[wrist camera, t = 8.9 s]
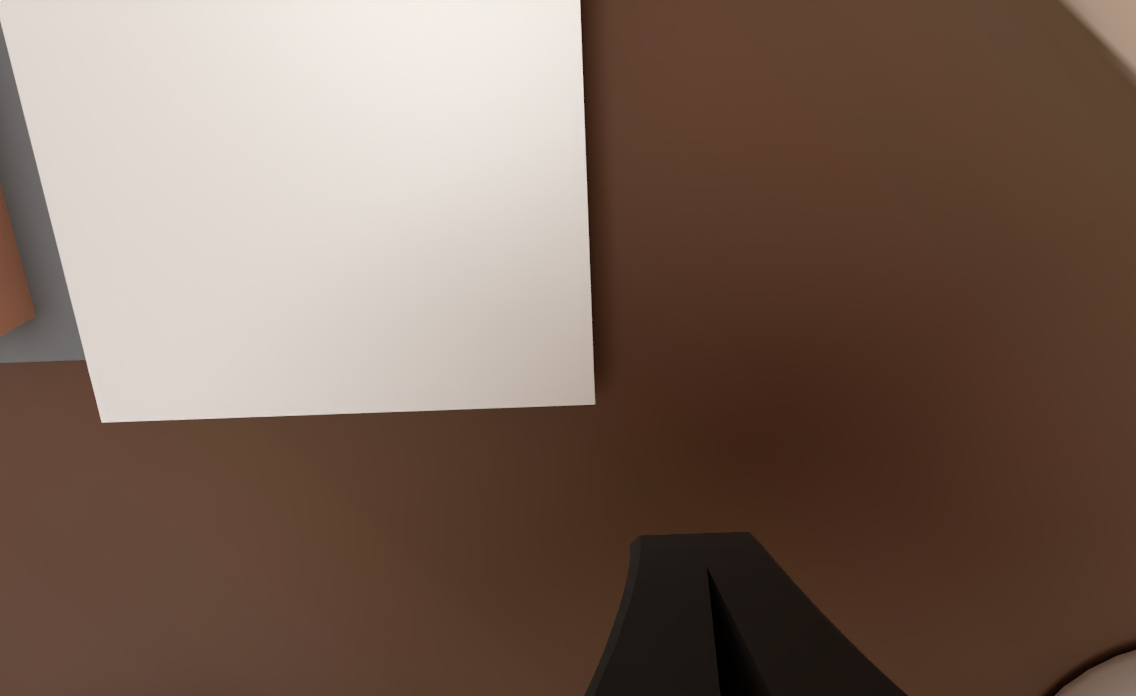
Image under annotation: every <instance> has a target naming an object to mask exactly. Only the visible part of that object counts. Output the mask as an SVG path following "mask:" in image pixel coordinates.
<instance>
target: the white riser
mask: <svg viewBox="0 0 1136 696" xmlns="http://www.w3.org/2000/svg"><path fill="white" fill-rule="evenodd" d="M0 22H1V26H2V30H3V33H4V37H5V41H6V45H7V49H8V53H9V57H10V61H11V65H12V69H13V73H14V77H15V81H16V85H17V89H18V93H19V97H20V101H21V105H22V109H23V113H24V117H25V121H26V125H27V129H28V132H29V136H30V140H31V144H32V148H33V152H34V156H35V160H36V164H37V168H38V172H39V176H40V180H41V184H42V188H43V192H44V196H45V200H46V204H47V208H48V212H49V216H50V220H51V224H52V228H53V231H54V235H55V239H56V243H57V247H58V251H59V255H60V259H61V263H62V267H63V271H64V275H65V279H66V283H67V287H68V291H69V295H70V299H71V303H72V307H73V311H74V315H75V319H76V323H77V327H78V331H79V334H80V338H81V342H82V346H83V350H84V354H85V358H86V362H87V366H88V370H89V374H90V378H91V382H92V386H93V390H94V394H95V398H96V402H97V406H98V410H99V414H100V418H101V422H102V423H103V422H131V421H158V420H186V419H213V418H240V417H268V416H295V415H322V414H350V413H377V412H405V411H432V410H459V409H487V408H514V407H541V406H569V405H595V388H594V361H593V334H592V307H591V279H590V252H589V225H588V198H587V171H586V144H585V117H584V90H583V63H582V36H581V9H580V0H0Z"/></svg>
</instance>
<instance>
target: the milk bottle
mask: <svg viewBox="0 0 1136 696" xmlns="http://www.w3.org/2000/svg"><path fill="white" fill-rule="evenodd" d="M1055 696H1136V650H1134V651H1131V652H1127V653H1124V654H1121V655H1117V656H1115V657H1113V658H1111V659H1109V660H1107V661H1105V662H1103V663H1101V664H1099V665H1097V666H1095V667H1093V668H1091V669H1088V670H1087V671H1086V672H1084V673H1083V674H1081V675H1080V676H1079V677H1077V678H1076V679H1074V680H1073V681H1071V682H1070V683H1068V684H1067V685H1065V686H1064V687H1063V688H1062V689H1061V690H1060V691H1059V692H1058V693H1057V694H1056V695H1055Z"/></svg>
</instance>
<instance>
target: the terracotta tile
mask: <svg viewBox="0 0 1136 696" xmlns="http://www.w3.org/2000/svg"><path fill="white" fill-rule="evenodd" d="M34 317H36V314H35V311H34V307H33V303H32V299H31V296H30V292H29V288H28V284H27V281H26V277H25V273H24V269H23V266H22V262H21V258H20V255H19V251H18V247H17V243H16V240H15V236H14V232H13V228H12V225H11V221H10V217H9V214H8V210H7V206H6V202H5V199H4V195H3V191H2V187H1V184H0V337H1V336H3V335H4V334H6V333H8V332H10V331H11V330H13V329H15V328H17V327H18V326H20V325H22V324H24V323H26V322H27V321H29V320H31V319H33V318H34Z"/></svg>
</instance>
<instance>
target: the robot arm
mask: <svg viewBox="0 0 1136 696" xmlns="http://www.w3.org/2000/svg"><path fill="white" fill-rule="evenodd" d="M585 696H908V695H907V694H905V693H904V692H903V691H902V690H901V689H900V688H899V687H898V686H896V685H895V684H894V683H893V682H892V681H891V680H890V679H889V678H888V677H887V676H885V675H884V674H883V673H882V672H881V671H880V670H879V669H878V668H877V667H876V666H875V665H874V664H873V663H872V662H871V661H870V660H869V659H868V658H867V657H865V656H864V655H863V654H862V653H861V652H860V651H859V650H858V649H857V648H856V647H855V646H854V645H853V643H852V642H851V641H850V640H849V639H848V638H847V637H846V636H845V635H844V634H843V633H842V632H841V631H840V630H839V629H838V628H837V627H836V626H835V625H834V624H833V623H832V622H831V621H830V620H829V619H828V618H827V617H826V616H825V615H824V614H823V613H822V612H821V611H820V610H819V609H818V608H817V607H816V606H815V605H814V604H813V602H812V601H811V600H810V599H809V598H808V597H807V596H806V595H805V594H804V593H803V591H802V590H801V589H800V588H799V587H798V586H797V585H796V584H795V583H794V582H793V580H792V579H791V578H790V577H789V576H788V575H787V574H786V573H785V571H784V570H783V569H782V568H781V567H780V566H779V565H778V563H777V562H776V561H775V560H774V559H773V558H772V556H771V555H770V554H769V553H768V552H767V551H766V549H765V548H764V547H763V546H762V545H761V544H760V543H759V541H758V540H757V539H756V538H755V537H753V536H752V535H751V534H750V533H749V532H735V533H704V534H674V535H643V536H639V537H638V538H637V539H636V540H634V541H633V542H632V543H631V544H630V564H629V571H628V577H627V581H626V586H625V590H624V593H623V597H622V601H621V604H620V608H619V611H618V614H617V616H616V619H615V622H614V625H613V628H612V631H611V633H610V636H609V639H608V642H607V645H606V648H605V650H604V653H603V655H602V658H601V660H600V663H599V665H598V667H597V669H596V671H595V674H594V676H593V678H592V680H591V682H590V685H589V687H588V689H587V691H586V693H585Z"/></svg>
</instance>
